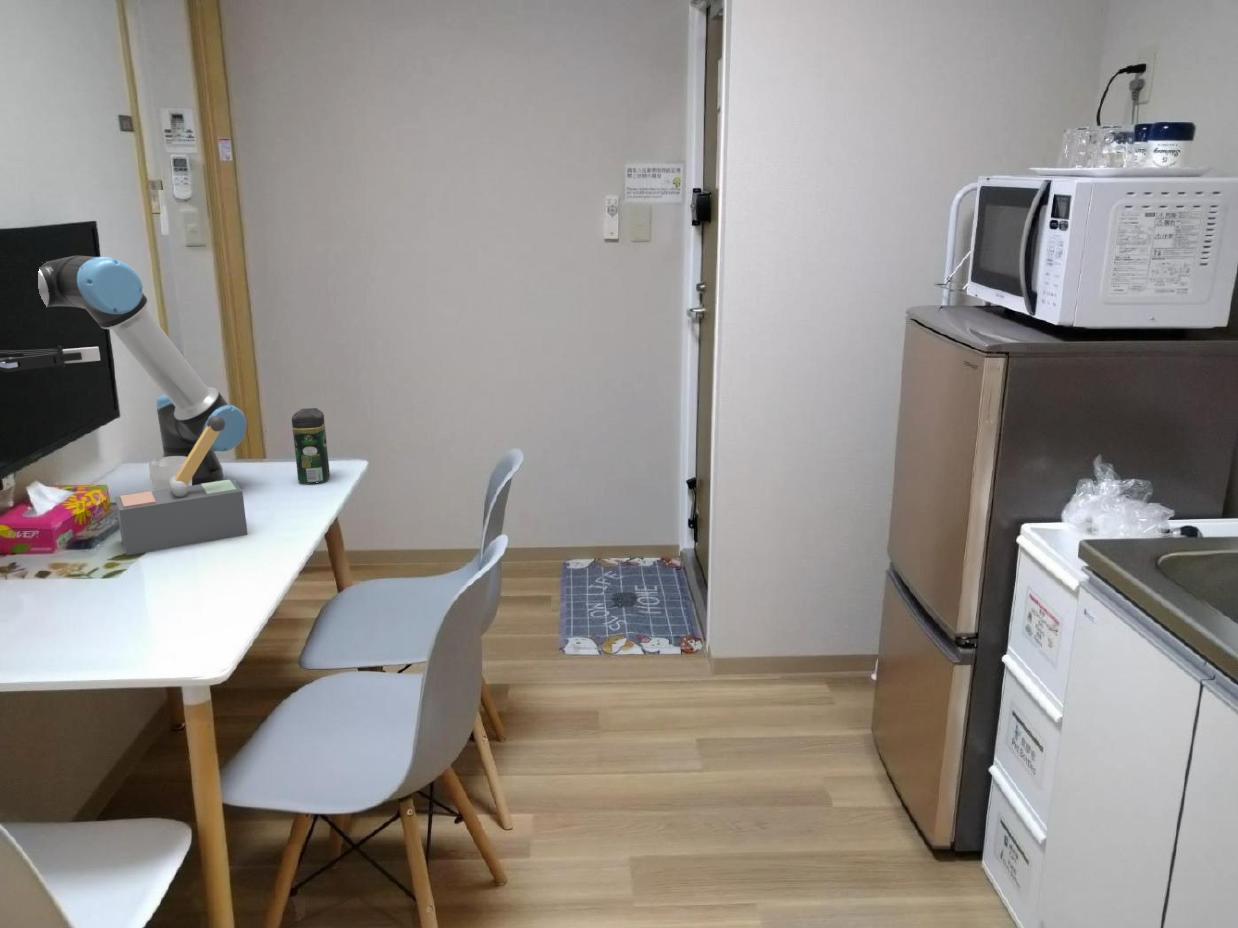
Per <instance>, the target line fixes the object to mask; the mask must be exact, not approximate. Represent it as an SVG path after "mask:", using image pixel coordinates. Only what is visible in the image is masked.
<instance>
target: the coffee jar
mask: <svg viewBox="0 0 1238 928" xmlns="http://www.w3.org/2000/svg"><path fill="white" fill-rule="evenodd" d="M291 426H292V427H291V428H292V435H293V437H292V438H293V445H294V451H295V452H294V454H295V462H296V470H297V471H296V473H297V481H298V482H299V483H300V482H301V484H306V483H316V482H320V483H323V482H324V481H325V482H326V481H328V479H329V478H330V473H331V471H330V464H329V463H330V462H329V453H328V446H327V445H328V444H327V443H328V442H327V433H326V423H325V415H324V411H322V410H319V408H317V407H316V408H315V407H313V408H310V407H309V408H307V407H306V408H301V409H300V410H298V411H296V412H295V413H294V414H293V415H292V417H291Z"/></svg>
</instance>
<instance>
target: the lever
mask: <svg viewBox="0 0 1238 928" xmlns="http://www.w3.org/2000/svg"><path fill="white" fill-rule="evenodd" d="M224 428H225V421H224V419H223V418H222V417H220V416H213V417H211V418H210V419H209V420H208V422H207V426H206V428H205V430H204V431H203V433H202V434H201V436H200V438H199V439H198V441H197V443H196V444H195V446H194V447H193V449H192V451H191V452H190V454H189V455H188V457H187V459H186V460H185V462H184V464H183V465H182V467H181V468H180V470H179V472H178V473H177V475H176V476H173V477H171V478H170V479H169V482H168V483H169V486H170V488H171V490H172V492H173V494H174V495H175V496H178V497H182V496H184V495H185V494H186V493H187V491H188V488H187V485H188V483H189V481H190V480H191V478H192V477H193V475H194V473H195V472H196V470H197V469H198V467H199V465H200V464H201V462H202V460H203V459H204V457H205V456H206V454H207V452H208V451H209V449H210V447H211V446H212V444H213V443H214V441H215V439H216V438H217V436H218V434H219V433H220V432H221V431H222V430H223V429H224Z"/></svg>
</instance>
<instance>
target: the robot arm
mask: <svg viewBox="0 0 1238 928" xmlns="http://www.w3.org/2000/svg"><path fill="white" fill-rule="evenodd" d="M45 262H46V263H44V264H43V265H42V266H41V267H39V271H38V289H39V294H40V296H41V299H42V300H43V302H44V304H45V305H46V308H51V307H71V308H72V307H73V308H78V309H79V308H80V309H83V310H86V311H87V312H88V313H89V315H90V316H91V317H92V319H93V320H95V322H96V323H97V324H98V326H100V328H101V329H103V330H104V329H105V330H112V331H113V333H114V334H115V335H116V336H117V337H118V339H119V340H120V341H121V343H122V344H123V345H124V346H125V348H127V350H128V351H129V352H130V353H131V355H132V356H133V358H134V359H135V360H136V362H137V363H139V365H140V366H141V367H142V368H143V369H144V371H145V372H146V373H147V374H148V376H149V377H150V378H151V379H152V380H153V382H154V383H155V384H156V386H157V387H159V389H160V390H161V391H162V393H163V394H162V395H160V396H158V398H157V399H156V412H157V417H158V424H159V429H160V430H159V431H160V437H161V444H162V451H163V455H162V457H169V456H185V457H188V455H189V454H190V452H191V451H192V449H193V447H194V446H195V444H196V443H197V441H198V439H199V438H200V436H201V434H202V433H203V431H204V430H205V428H206V426H207V422H208V420H209V419H210V418H211V417H213V416H220V417H222V418H223V419H224V421H225V428H224V429H223V430H222V431H221V432H220V433H219V434H218V436H217V438H216V439H215V441H214V443H213V444H212V446H211V447H210V449H209V451H208V452H207V454H206V456H205V457H204V459H203V460H202V462H201V464H200V465H199V467H198V469H197V470H196V472H195V473H194V475H193V477H192V486H193V485H199V484H203V483H210V482H216V481H220V479H222V478H223V477H224V471H223V466H222V464H221V462H220V460H219V458H218V457H217V454H216V452H229V451H230V450H233V449H235V448H236V447H238V445H239V444H241V443H242V441H243V438H244V437H245V435H246V430H247V426H248V424H247V423H248V422H247V419H246V416H245V414H244V412H243V411H242V410H241V409H239V408H238V407H237V406H236V405H231V404H229V403H228V402H227V401H226V400H225V398H224V397H223V396H222V395H221V393H220V392H219V391H218V389H217V388H215V387H212V386H207V385H206V384H205V383H204V382H203V380H202V379H201V378H200V376H199V375H198V374H197V372H196V371H195V370H194V369H193V368H192V366H191V365H190V363H189V362H188V361H187V360H186V358H185V357H184V356H183V354H182V353H181V352H180V351H179V349H178V348H177V346H175V344H174V343H173V342H172V340H171V339H170V338H169V336H168V335H167V334H166V333H165V331H164V330H163V329H162V327H161V326H160V325H159V324H158V322H157V321H156V320H155V318H154V317H153V316H152V314H151V313H150V311H148V309H147V307H148V303H149V300H148V298H147V297H146V295H145V294H144V293H143V288H144V287H143V283H142V280H141V278H140V275H139V274H138V273H137V272H136V270H135V269H133V267H132V266H130V265H129V264H127V263H125V262H123V261H122V260H118V259H116V258H114V257H113V258H112V257H108V256H87V255H72V256H68V257H63V258H62V257H61V258H57V259H54V260H49V261H45ZM58 272H59V273H58ZM57 276H58V277H57ZM48 291H49V292H48ZM57 347H58V348H56V347H54V348H44V349H43V348H42V349H41V348H40V349H22V350H21V349H18V350H13V349H12V350H11V349H3V350H0V373H12V372H13V373H14V372H17V371H26V370H32V369H33V370H34V369H40V368H49V367H59V366H61V368H62V369H63V368H65V367H66V365H65V364H75V363H76V364H77V363H87V362H96V361H97V362H98V361H101V353H100V349H99V346H91V347H90V346H87V347H78V348H77V347H75V348H65V349H64V348H63V347H62V346H61V345H57Z"/></svg>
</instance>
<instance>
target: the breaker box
mask: <svg viewBox="0 0 1238 928" xmlns="http://www.w3.org/2000/svg"><path fill="white" fill-rule="evenodd" d="M187 488H188V491H187V493H186V494H185V495H184V496H182V497H178V496H175V495H174V494H173V492H172V490H171V489H166V490H159V491H154V490H153V491H152V490H151V491H143V492H138V493H137V492H136V493H131V494H125V495H124V494H123V495H119V496H114V500H115V501H114V502H115V507H116V512H117V513H116V515H117V521H118V526H119V533H120V538H121V543H122V546H123V551H124V553H125V556H126V557H128V556H133V555H134V556H135V555H139V554H144V553H149V552H157V551H162V550H167V549H173V548H179V547H185V546H189V545H195V544H202V543H206V542H211V541H217V540H223V539H228V538H233V537H239V536H240V537H241V536H245V535H248V527H247V518H246V517H247V516H246V510H245V509H246V508H245V502H244V501H245V500H244V492H243V490H242V488H241V487H240V486H239V485H238V483H237V481H235V479H224V480H223V479H222V480H217V481H215V482H210V483H203V484H199V485H193V486H187Z"/></svg>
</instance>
